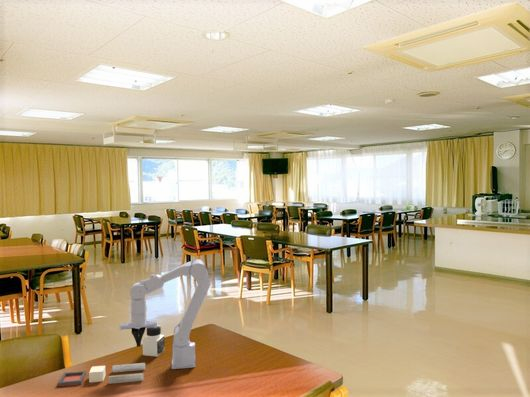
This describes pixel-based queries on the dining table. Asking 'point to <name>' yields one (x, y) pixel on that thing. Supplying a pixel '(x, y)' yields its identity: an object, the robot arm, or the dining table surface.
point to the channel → (129, 376)
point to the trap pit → (72, 378)
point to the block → (97, 374)
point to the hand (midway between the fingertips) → (138, 345)
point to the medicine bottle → (153, 342)
